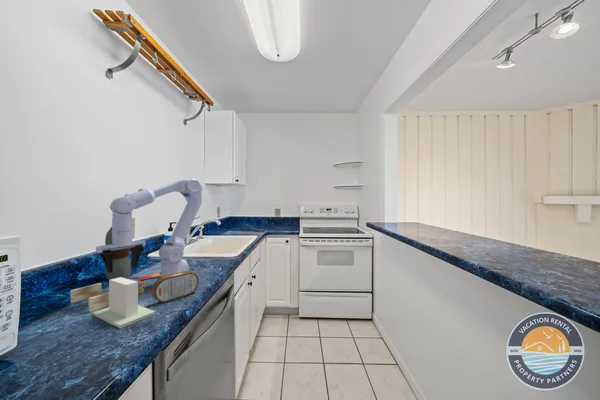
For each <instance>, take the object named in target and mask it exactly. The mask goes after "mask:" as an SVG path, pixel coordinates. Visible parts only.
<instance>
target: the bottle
mask: <svg viewBox="0 0 600 400" xmlns="http://www.w3.org/2000/svg"><path fill="white" fill-rule="evenodd" d="M104 243H105V245H109V244H112V226H111V227H110V228H109V230H108V231H107V232H106V235H105V239H104ZM125 247H128V246H125ZM118 248H121V247H118ZM113 249H114V248H113ZM130 252H131V249H130V248H125V249H118V250H112V253H114V255H113V262H112V265H113V271H112V272H111V273H109V272H107V269H106V267H105V270H104V273H105V278H106V280H107V279H108V281H109V280H111V279H115V278H119V277H122V278H129V276H130V274H131V270H132V263H131V259H130Z"/></svg>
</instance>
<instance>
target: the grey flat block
mask: <svg viewBox="0 0 600 400" xmlns="http://www.w3.org/2000/svg"><path fill="white" fill-rule="evenodd" d="M126 278H127V277H126ZM126 278H122V277H119V278H115V279H111V280H108V282H109V283H108V292H109V306H108V307H109V310H110V311H112V312H114V313H117V314H119V315H121V316H124V317H129V316H132V315H134V314H137V313H138V305H139V294H138V282H137V281H133V280H129V279H126Z"/></svg>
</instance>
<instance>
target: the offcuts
mask: <svg viewBox="0 0 600 400" xmlns="http://www.w3.org/2000/svg"><path fill="white" fill-rule="evenodd" d="M129 280H133V281H137V282H138V295H139V294H143V293H145V289H144V288H143V287H145V286H146V282H145V281H138V280H135V279H129Z"/></svg>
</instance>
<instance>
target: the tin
mask: <svg viewBox="0 0 600 400" xmlns="http://www.w3.org/2000/svg"><path fill="white" fill-rule="evenodd" d="M199 279H200V278H199V276H198V275H197V274H196V273H195V272H193V271H192V270H188V271H183V272H179V273H174V274H169V275H165V276H162V277H160V278H156V279H155V281H154V282H153V284H152V286H151V290H150V294H151V297H152V298H153V299H154V300H156V301H158V302H160V303H166V302H170V301H174V300H178V299H179V298H180V299H181V298H184V297H187V296H190V295H191V294H193V293H194V292H195V291H196V290H197V288H198V286H199V284H200V283H199V281H200V280H199Z"/></svg>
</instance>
